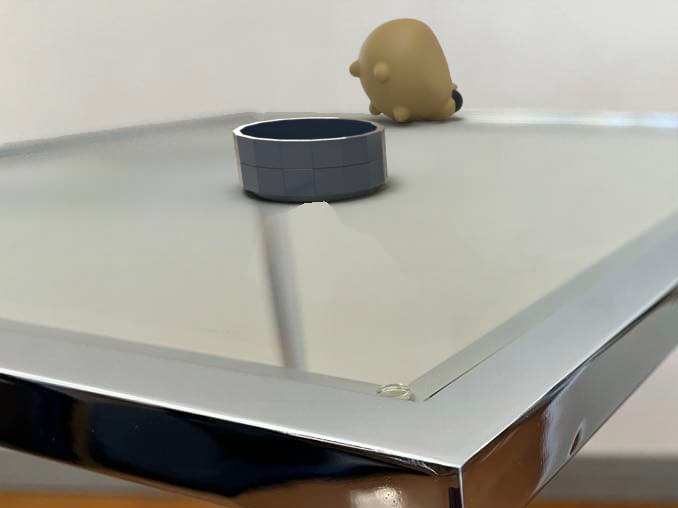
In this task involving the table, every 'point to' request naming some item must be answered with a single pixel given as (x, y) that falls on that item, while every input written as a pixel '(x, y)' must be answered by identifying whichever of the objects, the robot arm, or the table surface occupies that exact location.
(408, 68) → the toy pig
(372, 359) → the table surface
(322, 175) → the bowl
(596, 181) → the table surface
